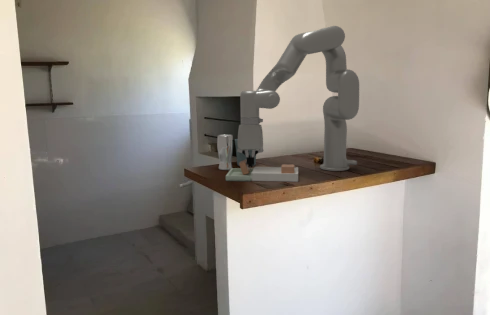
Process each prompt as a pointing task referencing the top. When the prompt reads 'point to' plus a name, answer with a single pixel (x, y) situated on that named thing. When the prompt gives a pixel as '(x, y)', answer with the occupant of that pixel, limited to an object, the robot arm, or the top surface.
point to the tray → (238, 175)
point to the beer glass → (225, 151)
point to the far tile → (244, 167)
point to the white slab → (273, 174)
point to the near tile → (287, 168)
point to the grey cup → (242, 155)
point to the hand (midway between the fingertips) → (250, 166)
